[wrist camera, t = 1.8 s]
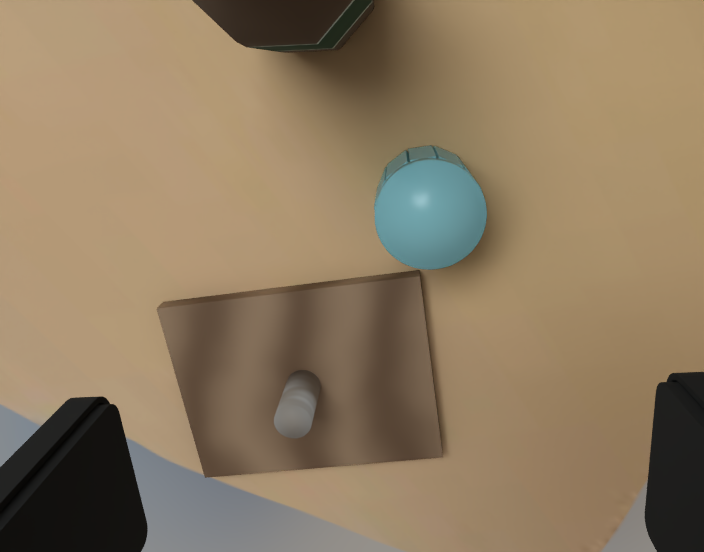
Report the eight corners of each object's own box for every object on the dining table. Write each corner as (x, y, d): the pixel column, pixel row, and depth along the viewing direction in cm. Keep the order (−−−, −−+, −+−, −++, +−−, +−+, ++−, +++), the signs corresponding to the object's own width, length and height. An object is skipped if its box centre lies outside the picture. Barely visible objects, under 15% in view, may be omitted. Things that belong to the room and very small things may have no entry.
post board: (419, 270, 39) (422, 303, 33) (441, 447, 43) (448, 501, 38) (163, 302, 41) (127, 337, 36) (209, 467, 46) (184, 521, 40)
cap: (468, 139, 36) (481, 152, 30) (477, 233, 38) (491, 262, 32) (371, 154, 37) (367, 169, 31) (385, 245, 39) (382, 275, 33)
